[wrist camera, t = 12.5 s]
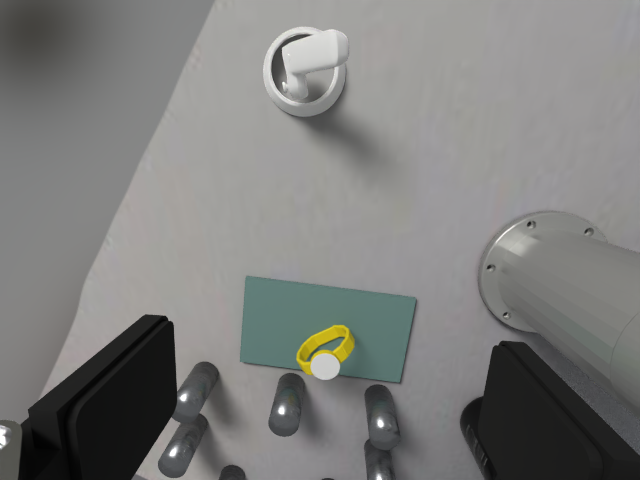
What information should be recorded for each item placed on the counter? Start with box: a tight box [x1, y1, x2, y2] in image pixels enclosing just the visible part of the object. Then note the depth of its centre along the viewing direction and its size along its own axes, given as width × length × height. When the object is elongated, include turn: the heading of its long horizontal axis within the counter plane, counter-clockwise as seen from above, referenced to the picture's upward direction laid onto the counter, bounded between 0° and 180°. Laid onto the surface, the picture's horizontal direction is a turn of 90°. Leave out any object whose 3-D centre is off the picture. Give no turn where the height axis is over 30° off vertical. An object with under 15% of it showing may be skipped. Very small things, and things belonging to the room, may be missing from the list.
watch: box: [296, 325, 355, 380], centre depth 34 cm, size 6×3×6 cm, turn 118°
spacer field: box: [158, 362, 400, 480], centre depth 38 cm, size 25×17×6 cm
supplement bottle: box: [460, 396, 501, 480], centre depth 34 cm, size 7×7×12 cm
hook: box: [263, 27, 349, 117], centre depth 29 cm, size 8×12×7 cm
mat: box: [240, 276, 416, 383], centre depth 37 cm, size 18×10×1 cm, turn 83°
